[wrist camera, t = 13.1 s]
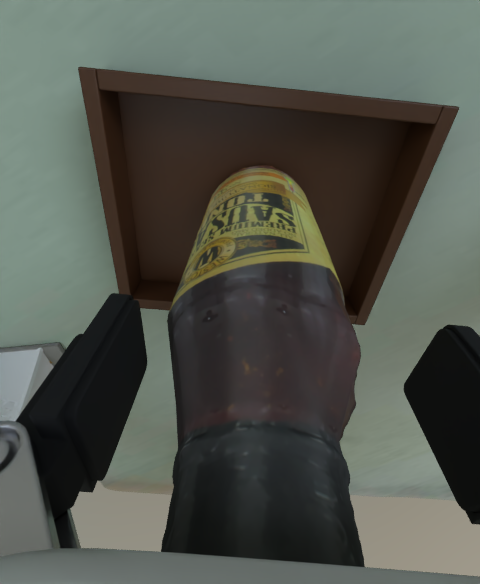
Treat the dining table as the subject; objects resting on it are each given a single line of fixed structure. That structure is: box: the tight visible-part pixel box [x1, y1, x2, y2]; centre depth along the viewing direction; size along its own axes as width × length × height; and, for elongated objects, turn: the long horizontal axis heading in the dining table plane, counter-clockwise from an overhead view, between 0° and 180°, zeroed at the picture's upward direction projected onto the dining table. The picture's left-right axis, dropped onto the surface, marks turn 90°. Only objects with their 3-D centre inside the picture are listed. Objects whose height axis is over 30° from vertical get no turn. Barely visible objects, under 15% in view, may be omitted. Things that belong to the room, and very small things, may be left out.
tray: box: [78, 67, 459, 325], centre depth 19 cm, size 18×14×3 cm
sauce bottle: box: [161, 165, 365, 567], centre depth 11 cm, size 7×6×20 cm
